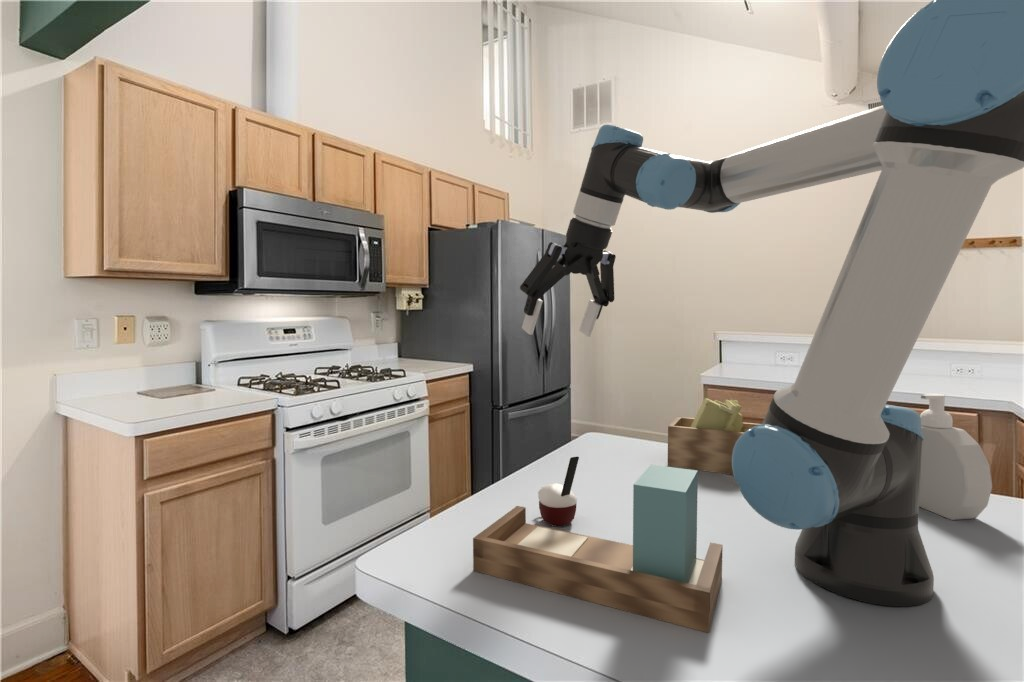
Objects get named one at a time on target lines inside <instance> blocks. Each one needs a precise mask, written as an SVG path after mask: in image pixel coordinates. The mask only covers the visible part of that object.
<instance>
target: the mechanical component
mask: <svg viewBox="0 0 1024 682" xmlns="http://www.w3.org/2000/svg"><path fill="white" fill-rule="evenodd" d="M741 408H742V405H740V404H739V401H738V400H737V399H731V398H730V400H728V399H725V400H724V402H722V401H720V400H717V399H714V400H712V399H710V398H707V397H704V398H703V401H702V402H701V404H700V406H699V408H698V411H697V413H696V415H695V417H694V418H695V419H694V421H693V423H692V425H691V427H692V428H702V429H713V430H723V431H734V432H740V431H741V429H742V427H743V423H742V422H743V418H744V416H743V415H742V414H741V413H740V410H741ZM746 431H747V429H745V430H744V432H746Z"/></svg>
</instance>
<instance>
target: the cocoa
mask: <svg viewBox="0 0 1024 682" xmlns="http://www.w3.org/2000/svg"><path fill="white" fill-rule="evenodd" d="M579 460H580V457H579V456H573V457H570V458H569V462H568V466H567V469H566V473H565V478H564V482H563V484H560V483H556V482H555V483H549V484H547V485H544V486H541V488H540V489H539V490H538V492H537V494H538V495H537V496H538V509H539V513H540V516H541V518H542V520H543V521H544V523H547V525H549V524H550V526H552V525H553V527H564V525H565V526H568V525H569V524H570V523H572V522H573V521H574V519H575V516H576V512H577V504H578V503H577V502H578V501H577V500H578V499H577V497H576V495H575V493H574V492H573V491H572V488H573V487H572V486H573V483H574V479H575V475H576V472H577V471H576V470H577V466H578V463H579Z"/></svg>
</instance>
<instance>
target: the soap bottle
mask: <svg viewBox="0 0 1024 682" xmlns="http://www.w3.org/2000/svg"><path fill="white" fill-rule="evenodd" d="M945 397H946V395H945V394H940V393H927V394H921V395H920V399H921V400H928V401H929V403H928V405H929V406H928V409H925V410H923V411H922V412H921V413H920V414H919V415H920V417H921V420H922V434H923V436H924V440H923V441H922V453H921V473H920V493H919V508H921V509H924V510H926V511H929V512H931V513H933V514H936V515H938V516H941V517H943V518H945V519H948V520H949V521H954V520H955V521H957V520H970V519H977V517H979V515H980V514H982V512H983V511H984V510H985V509H986V508H987V507H988V504H989V500H990V497H991V494H992V490H993V482H992V475H991V474H992V473H991V467H990V464H989V461H988V459H987V457H986V455H985V453H984V451H983V449H982V447H981V445H980V444H979V442H977V441H976V440H975V439H974V438H973V437H972V435H971V434H969V433H968V432H967V431H966V430H965V429H963V428H958V427H953V421H954V419H953V416H952V415H951V413H949V412H947V411H945V400H946V399H945Z"/></svg>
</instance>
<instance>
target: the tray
mask: <svg viewBox="0 0 1024 682" xmlns="http://www.w3.org/2000/svg"><path fill="white" fill-rule="evenodd" d="M526 508H527V507H525V506H520V505H516V506H515V507H514V508H512V509H511V510H509V511H508V512H507V513H505V514H504V515H502V516H501V517H500V518H498V519H497V520H496V521H494V522H493V523H492V524H490V525H489V526H487V527H486V528H485V529H483V530H482V531H480V532H479V533H478V534H477V535H475V536H474V537H472V559H473V562H472V563H473V564H472V566H473V567H472V568H473V569H472V570H473V571H474V572H477V573H482V574H485V575H487V576H492V577H496V578H499V579H504V580H508V581H511V582H514V583H519V584H523V585H525V586H526V585H527V586H530V587H534V588H537V589H542V590H545V591H549V592H553V593H557V594H561V595H564V596H568V597H571V598H575V599H580V600H583V601H587V602H591V603H594V604H598V605H601V606H606V607H609V608H614V609H618V610H621V611H625V612H628V613H632V614H636V615H640V616H644V617H647V618H651V619H654V620H655V619H656V620H658V621H659V620H660V621H663V622H667V623H670V624H674V625H678V626H682V627H685V628H689V629H692V630H696V631H701V632H705V633H707V634H709V632H710V628H711V625H712V620H713V615H714V612H715V608H716V604H717V599H718V596H719V592H720V588H721V584H722V580H723V544H720V543H715V542H709V546H708V548H707V550H706V551H707V552H706V554H705V557H704V559H702V558H697V557H696V563H695V566H694V569H693V572H692V574H691V577H690V580H689V583H685V582H680V581H676V580H672V579H667V578H663V577H658V576H654V575H650V574H645V573H641V572H636V571H633V544H630V543H624V542H619V541H615V540H611V539H610V540H609V539H605V538H599V537H594V536H591V535H585V534H581V533H580V534H579V533H575V532H570V531H566V530H559V529H557V528H555V529H554V528H550V527H546V526H541V525H536V524H531V523H527V517H526V515H527V514H526V513H527V512H526V511H527V510H526Z"/></svg>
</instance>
